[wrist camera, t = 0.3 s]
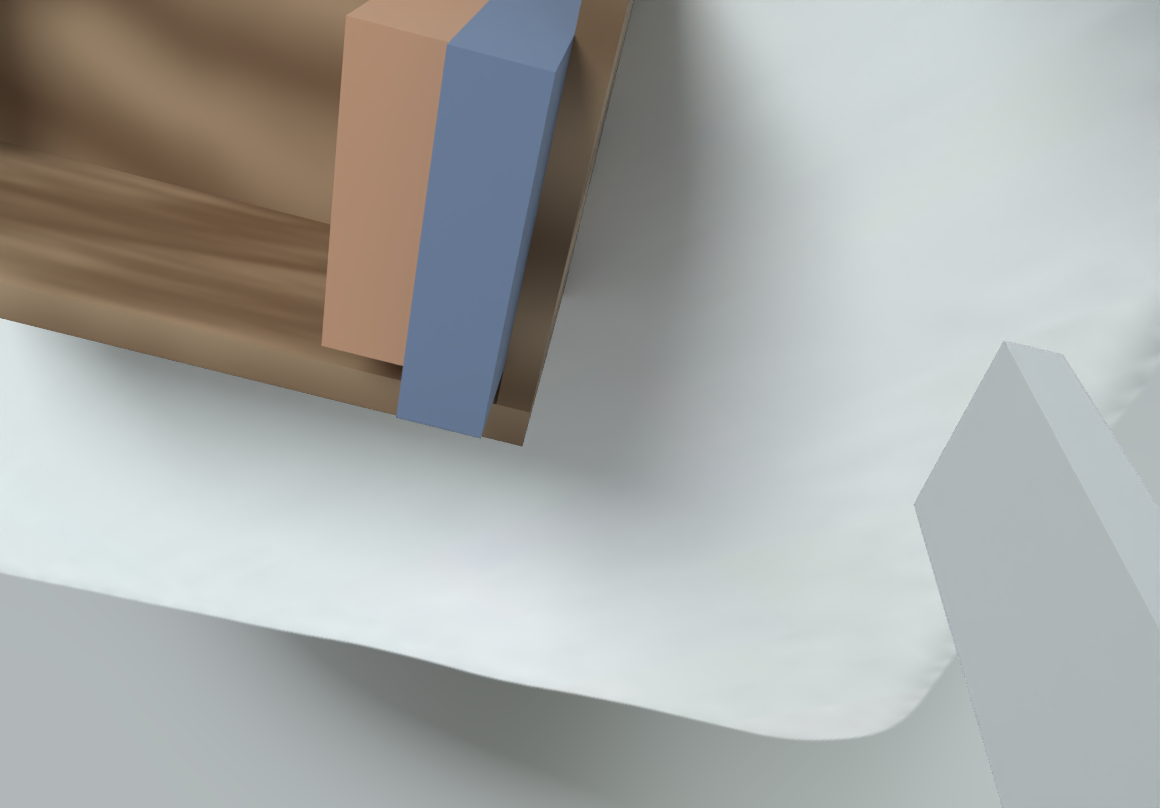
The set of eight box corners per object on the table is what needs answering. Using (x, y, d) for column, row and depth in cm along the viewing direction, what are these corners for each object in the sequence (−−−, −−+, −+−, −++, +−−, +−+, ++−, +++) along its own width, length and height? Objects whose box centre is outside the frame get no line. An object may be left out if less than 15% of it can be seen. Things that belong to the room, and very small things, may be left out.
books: (453, -69, 33) (320, 11, 22) (605, -29, 33) (555, 72, 22) (416, 213, 39) (297, 393, 28) (544, 246, 39) (480, 438, 28)
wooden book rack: (-127, -330, 32) (-479, -377, 22) (661, -117, 33) (646, -76, 23) (-48, 143, 41) (-270, 251, 32) (562, 297, 42) (522, 446, 33)
